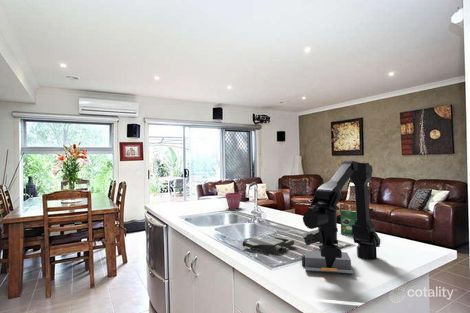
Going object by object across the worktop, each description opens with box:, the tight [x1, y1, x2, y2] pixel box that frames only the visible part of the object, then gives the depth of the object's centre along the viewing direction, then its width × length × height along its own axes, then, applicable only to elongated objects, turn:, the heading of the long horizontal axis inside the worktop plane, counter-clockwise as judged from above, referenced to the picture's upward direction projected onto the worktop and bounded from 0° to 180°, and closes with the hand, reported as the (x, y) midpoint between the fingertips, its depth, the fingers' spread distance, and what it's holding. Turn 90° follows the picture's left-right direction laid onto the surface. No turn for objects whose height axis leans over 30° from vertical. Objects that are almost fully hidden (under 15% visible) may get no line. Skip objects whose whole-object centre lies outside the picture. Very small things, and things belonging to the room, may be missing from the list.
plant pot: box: [225, 192, 243, 210], centre depth 233 cm, size 14×14×13 cm
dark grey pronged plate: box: [241, 234, 295, 255], centre depth 127 cm, size 16×20×5 cm
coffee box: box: [340, 209, 357, 236], centre depth 145 cm, size 8×3×13 cm, turn 61°
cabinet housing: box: [301, 250, 352, 270], centre depth 102 cm, size 17×8×5 cm, turn 76°
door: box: [305, 267, 355, 275], centre depth 94 cm, size 16×1×8 cm
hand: (328, 269), depth 92 cm, fingers closed, pressing on door
